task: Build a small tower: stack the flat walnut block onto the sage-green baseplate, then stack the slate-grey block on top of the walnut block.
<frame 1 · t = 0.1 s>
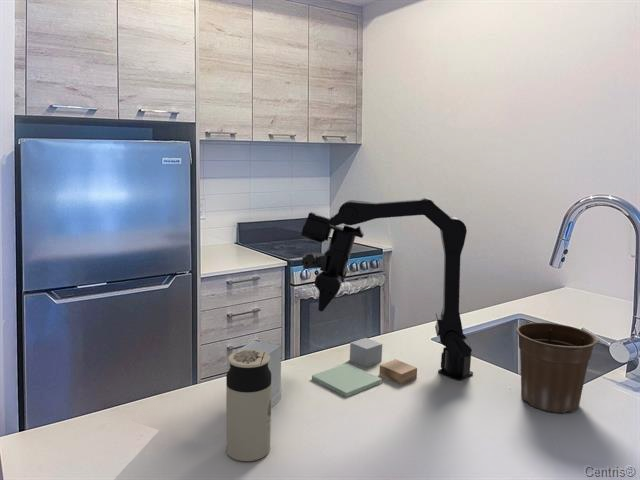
hand: (323, 305, 133), 15 cm above the worktop, tool pointing down, fingers open, 9 cm apart
walnut block: (397, 377, 128), on the worktop
slate block: (365, 361, 138), on the worktop
plant pot: (548, 401, 117), on the worktop
baseplate: (346, 381, 125), on the worktop
supplement box: (258, 403, 112), on the worktop
travel mug: (248, 451, 94), on the worktop
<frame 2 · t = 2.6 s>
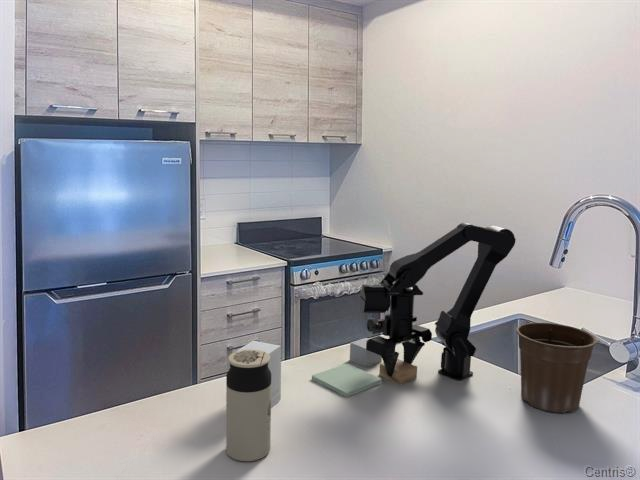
hand: (398, 372, 128), 1 cm above the worktop, tool pointing down, fingers closed on walnut block, 6 cm apart
walnut block: (397, 376, 128), on the worktop, touching gripper
everything else where it was.
when the fingers open (3 cm above the worktop, at t = 7.4 s): walnut block stays where it is, resting on baseplate.
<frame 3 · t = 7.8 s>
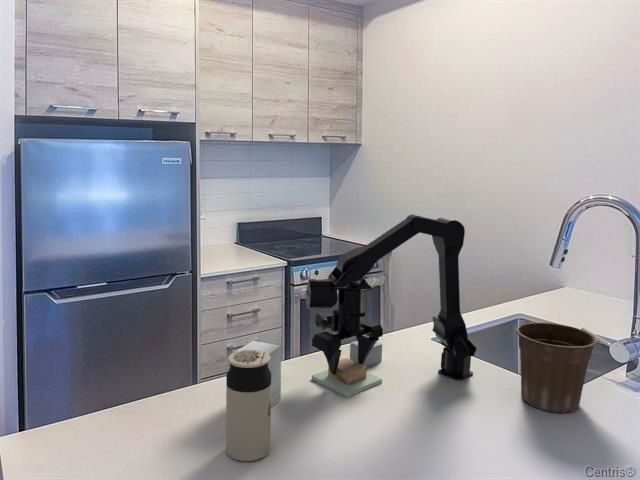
hand: (347, 369, 124), 3 cm above the worktop, tool pointing down, fingers open, 9 cm apart
walnut block: (347, 377, 124), point 1 cm above the worktop, touching baseplate
everything else where it was.
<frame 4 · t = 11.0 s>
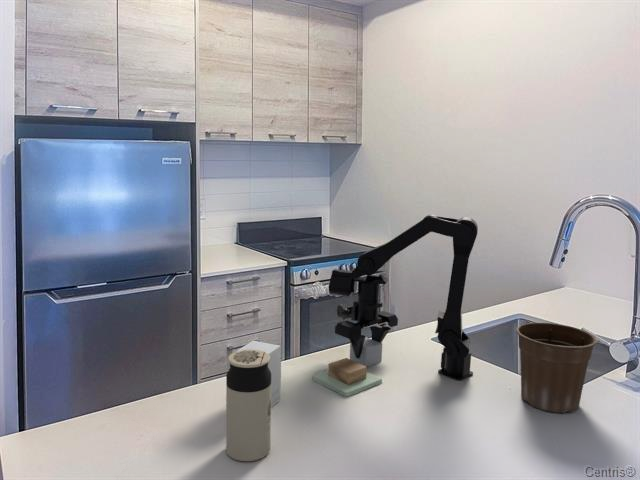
hand: (365, 355, 137), 2 cm above the worktop, tool pointing down, fingers closed on slate block, 6 cm apart
slate block: (365, 360, 138), on the worktop, touching gripper
everything else where it was.
when the fingers open (6 cm above the worktop, at t = 15.2 s): slate block stays where it is, resting on walnut block.
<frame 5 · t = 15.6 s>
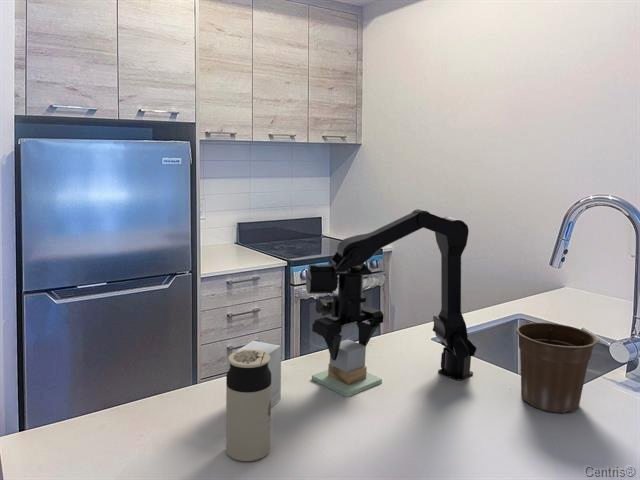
hand: (347, 355, 124), 6 cm above the worktop, tool pointing down, fingers open, 9 cm apart
walnut block: (347, 377, 124), point 1 cm above the worktop, touching baseplate, slate block
slate block: (347, 365, 124), point 4 cm above the worktop, touching walnut block
everything else where it was.
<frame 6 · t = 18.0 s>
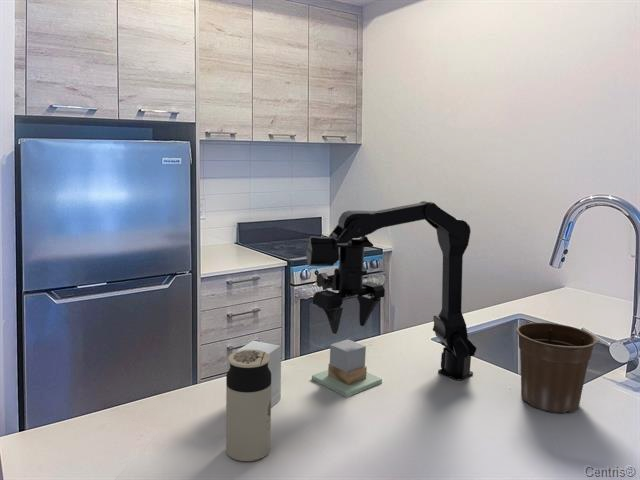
hand: (348, 329, 123), 13 cm above the worktop, tool pointing down, fingers open, 9 cm apart
nothing on the worktop moved.
at the end: walnut block 0.1 cm off-centre on the baseplate, point 1.0 cm above the baseplate's base; slate block 0.1 cm off-centre on the walnut block, point 3.0 cm above the walnut block's base; slate block tilted 0° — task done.
